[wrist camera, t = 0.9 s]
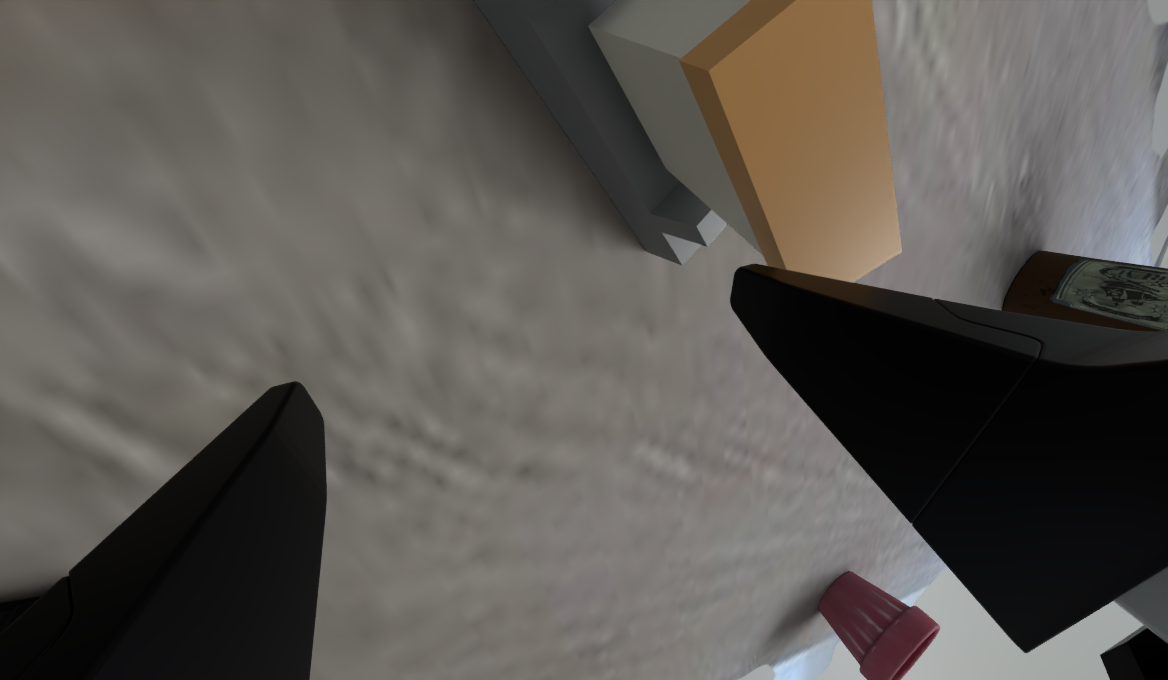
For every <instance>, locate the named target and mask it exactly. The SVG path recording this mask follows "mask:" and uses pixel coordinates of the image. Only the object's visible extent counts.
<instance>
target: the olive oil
mask: <svg viewBox="0 0 1168 680" xmlns="http://www.w3.org/2000/svg"><path fill="white" fill-rule="evenodd" d="M1003 311H1006V312H1012V313H1018V314H1024V315H1030V316H1036V317H1043V318H1049V319H1056V320H1062V321H1068V322H1075V323H1081V324H1088V325H1094V326H1100V327H1107V328H1113V329H1121V330H1129V331H1145V332H1166V331H1168V269H1166V268H1159V267H1152V266H1144V265H1137V264H1130V263H1123V262H1115V261H1108V260H1101V259H1094V258H1087V257H1081V256H1074V255H1068V254H1061V253H1055V252H1048V251H1040V252H1038V253H1036V254H1035V255H1034V256H1033V257H1031V258H1030V260H1029V261H1028V262H1027V263H1026V264H1025V265H1024V267H1023V268H1022V269H1021V271H1020V272H1019V274H1018V275H1017V277H1016V278H1015V280H1014V282H1013V284H1012V286H1011V287H1010V289H1009V292H1008V294H1007V296H1006V299H1005V302H1004V306H1003Z"/></svg>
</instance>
